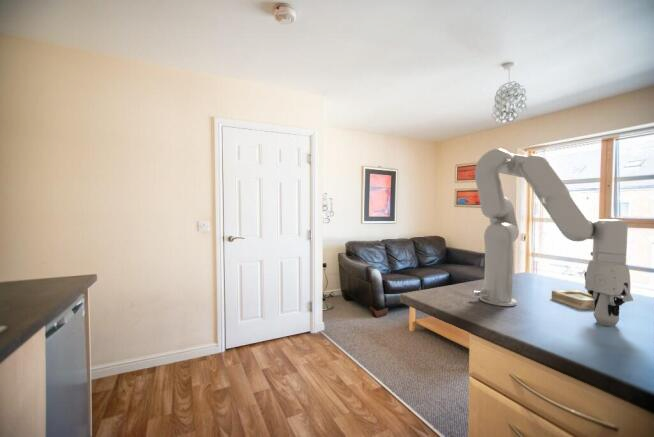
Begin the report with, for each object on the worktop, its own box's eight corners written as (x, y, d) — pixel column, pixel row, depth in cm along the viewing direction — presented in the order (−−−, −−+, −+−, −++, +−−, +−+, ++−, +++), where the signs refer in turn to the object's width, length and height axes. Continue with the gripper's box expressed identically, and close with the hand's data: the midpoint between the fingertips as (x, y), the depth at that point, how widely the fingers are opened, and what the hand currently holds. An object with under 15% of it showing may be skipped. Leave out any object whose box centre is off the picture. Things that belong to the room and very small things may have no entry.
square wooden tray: (580, 309, 103) (580, 300, 103) (551, 298, 115) (551, 290, 115) (609, 308, 104) (610, 299, 104) (578, 298, 116) (578, 290, 116)
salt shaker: (621, 329, 86) (623, 287, 85) (596, 325, 89) (598, 284, 88) (614, 323, 91) (616, 283, 90) (591, 319, 94) (592, 280, 93)
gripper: (573, 253, 97) (570, 306, 97) (628, 263, 80) (624, 325, 81) (592, 253, 97) (590, 305, 98) (651, 263, 81) (648, 325, 82)
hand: (606, 314), depth 89 cm, fingers open, 3 cm apart
